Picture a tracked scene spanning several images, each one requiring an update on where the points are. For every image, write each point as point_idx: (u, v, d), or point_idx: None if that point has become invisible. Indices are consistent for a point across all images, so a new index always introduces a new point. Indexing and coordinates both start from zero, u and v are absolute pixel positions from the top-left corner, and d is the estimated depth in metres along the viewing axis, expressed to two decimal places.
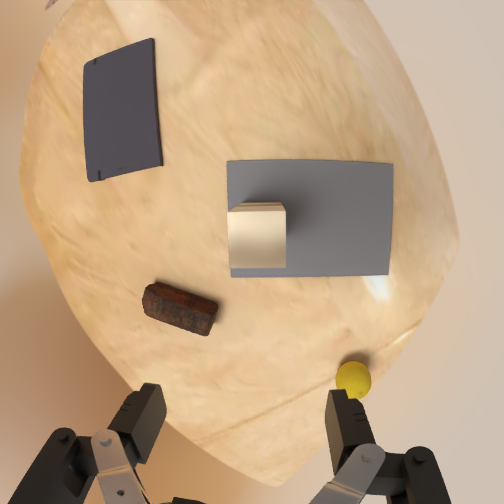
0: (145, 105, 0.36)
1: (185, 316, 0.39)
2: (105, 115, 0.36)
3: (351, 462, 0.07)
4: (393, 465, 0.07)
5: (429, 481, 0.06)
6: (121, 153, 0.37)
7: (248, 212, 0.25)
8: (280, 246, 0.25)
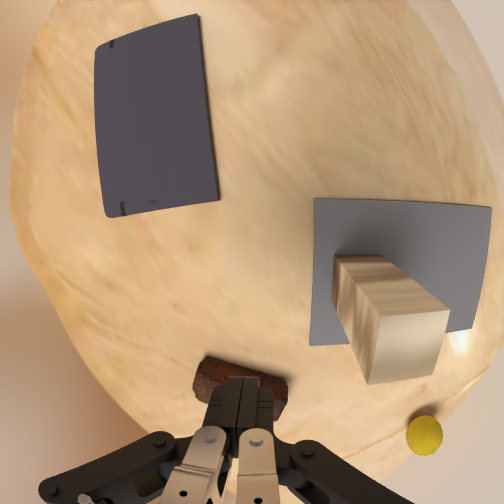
0: (192, 109, 0.26)
1: None
2: (128, 121, 0.26)
3: (244, 451, 0.08)
4: (283, 454, 0.08)
5: (332, 468, 0.07)
6: (156, 179, 0.27)
7: (408, 315, 0.15)
8: (433, 352, 0.15)
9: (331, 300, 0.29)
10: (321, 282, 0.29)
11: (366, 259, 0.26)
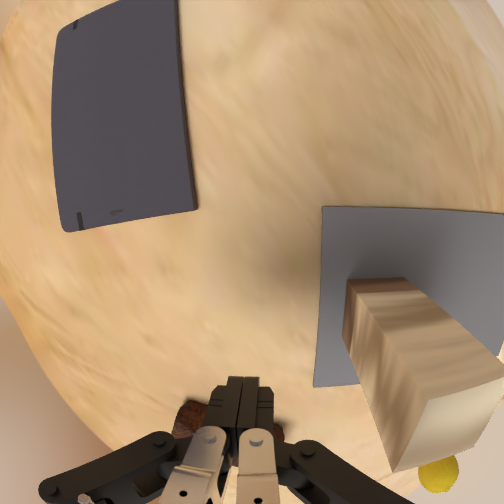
0: (162, 93, 0.19)
1: None
2: (87, 112, 0.19)
3: (244, 451, 0.08)
4: (283, 454, 0.08)
5: (332, 468, 0.07)
6: (117, 183, 0.20)
7: (463, 391, 0.08)
8: (481, 425, 0.08)
9: (342, 336, 0.23)
10: (330, 314, 0.22)
11: (389, 286, 0.19)
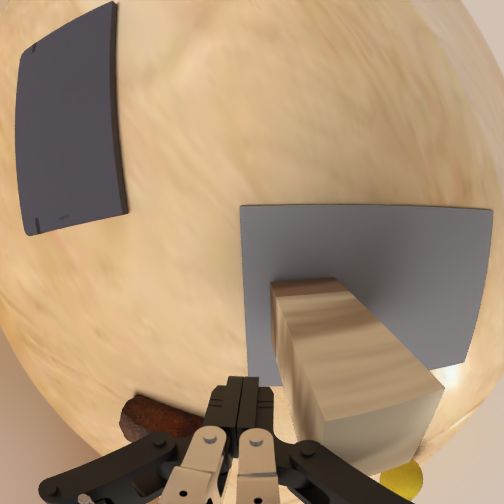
0: (97, 108, 0.19)
1: None
2: (40, 129, 0.20)
3: (244, 451, 0.08)
4: (283, 454, 0.08)
5: (332, 468, 0.07)
6: (63, 192, 0.21)
7: (375, 411, 0.08)
8: (414, 441, 0.09)
9: (271, 340, 0.23)
10: (255, 313, 0.23)
11: (314, 288, 0.20)
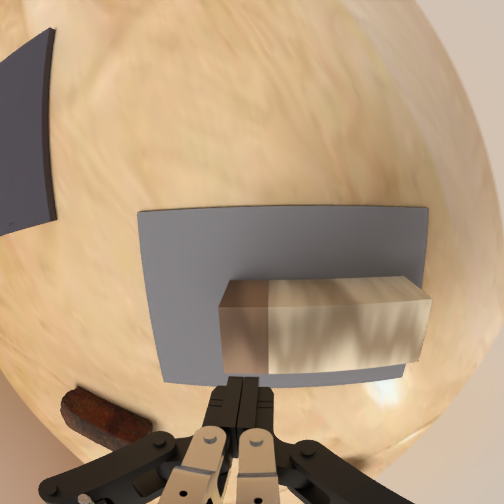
0: (33, 129, 0.20)
1: (108, 441, 0.23)
2: None
3: (244, 451, 0.08)
4: (283, 454, 0.08)
5: (332, 468, 0.07)
6: (10, 201, 0.21)
7: (420, 290, 0.18)
8: None
9: (226, 371, 0.19)
10: (158, 312, 0.23)
11: (254, 290, 0.20)
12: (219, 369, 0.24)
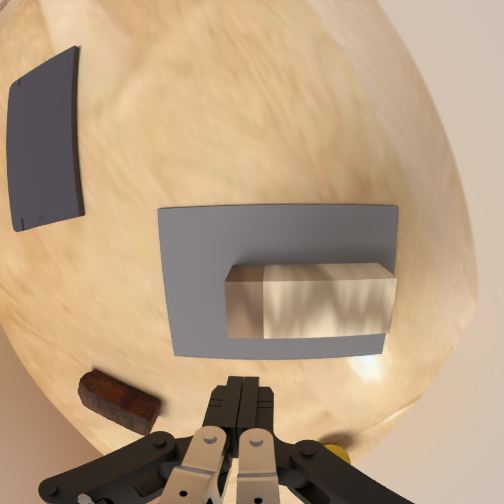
0: (63, 136, 0.25)
1: (121, 416, 0.29)
2: (24, 150, 0.26)
3: (244, 451, 0.08)
4: (283, 454, 0.08)
5: (332, 468, 0.07)
6: (40, 199, 0.27)
7: (388, 272, 0.23)
8: None
9: (230, 336, 0.24)
10: (172, 293, 0.29)
11: (252, 271, 0.25)
12: (223, 342, 0.29)
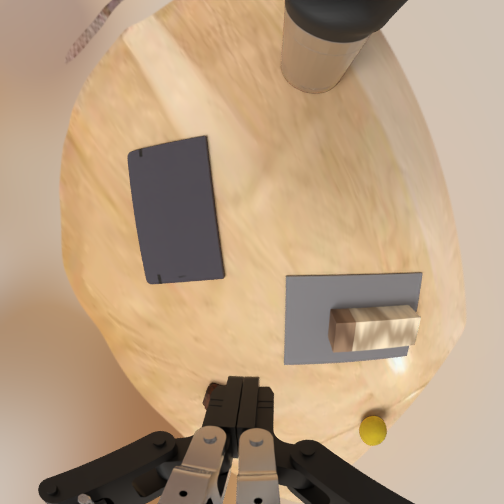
0: (205, 217, 0.42)
1: None
2: (160, 220, 0.42)
3: (244, 451, 0.08)
4: (283, 454, 0.08)
5: (332, 468, 0.07)
6: (182, 262, 0.44)
7: (415, 312, 0.40)
8: None
9: (334, 351, 0.41)
10: (290, 326, 0.46)
11: (345, 314, 0.42)
12: (317, 353, 0.46)
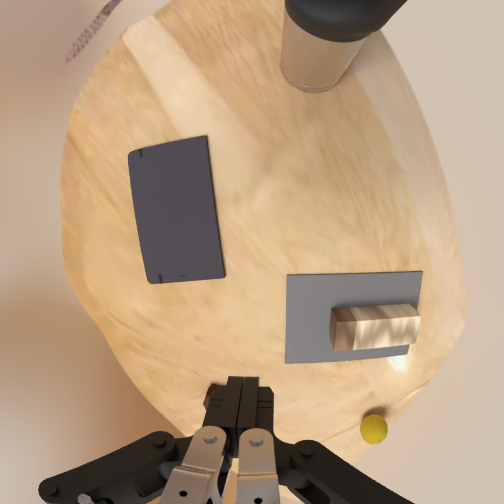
0: (205, 217, 0.42)
1: None
2: (161, 220, 0.42)
3: (244, 451, 0.08)
4: (283, 454, 0.08)
5: (332, 468, 0.07)
6: (183, 262, 0.44)
7: (416, 311, 0.41)
8: None
9: (335, 350, 0.41)
10: (291, 325, 0.46)
11: (346, 313, 0.42)
12: (318, 352, 0.47)
